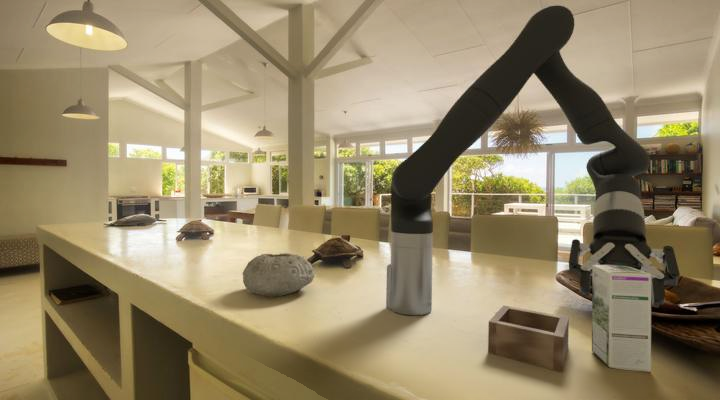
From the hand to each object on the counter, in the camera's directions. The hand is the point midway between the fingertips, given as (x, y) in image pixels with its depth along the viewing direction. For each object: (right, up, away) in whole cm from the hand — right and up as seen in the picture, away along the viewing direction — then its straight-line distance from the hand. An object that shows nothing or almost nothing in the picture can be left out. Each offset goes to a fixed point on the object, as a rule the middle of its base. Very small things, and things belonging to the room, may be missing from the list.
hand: (620, 299), depth 53 cm
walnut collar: (-13, -9, +3) cm, 16 cm away
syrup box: (-1, -10, 0) cm, 10 cm away
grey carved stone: (-61, -9, +35) cm, 71 cm away
